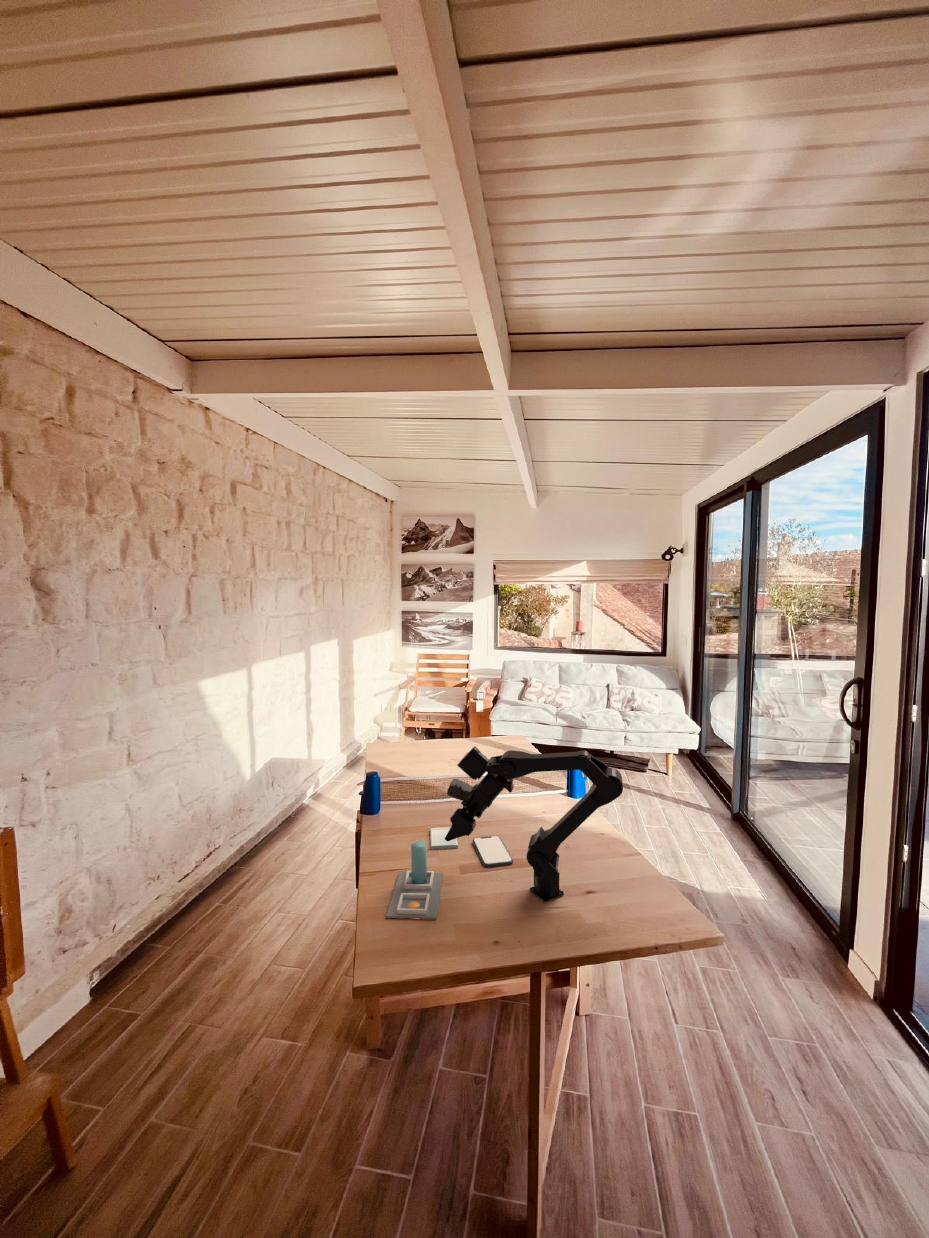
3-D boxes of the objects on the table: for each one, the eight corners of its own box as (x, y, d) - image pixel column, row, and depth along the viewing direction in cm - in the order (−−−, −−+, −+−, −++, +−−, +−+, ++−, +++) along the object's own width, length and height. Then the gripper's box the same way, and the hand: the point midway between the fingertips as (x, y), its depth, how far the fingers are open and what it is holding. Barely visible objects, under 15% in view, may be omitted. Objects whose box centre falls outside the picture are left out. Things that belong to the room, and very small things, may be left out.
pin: (429, 882, 147) (429, 846, 147) (415, 887, 145) (415, 850, 145) (422, 876, 151) (422, 840, 150) (409, 880, 149) (408, 843, 148)
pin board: (399, 874, 153) (399, 868, 153) (443, 875, 152) (443, 869, 152) (386, 918, 133) (386, 911, 133) (436, 919, 132) (436, 913, 132)
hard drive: (458, 844, 168) (455, 826, 180) (430, 845, 167) (430, 827, 179) (458, 850, 168) (455, 831, 180) (430, 851, 167) (430, 832, 179)
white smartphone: (514, 866, 158) (499, 839, 174) (514, 861, 158) (499, 834, 173) (484, 870, 156) (471, 842, 172) (484, 864, 156) (471, 837, 172)
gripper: (471, 759, 156) (438, 798, 159) (454, 782, 138) (416, 826, 141) (502, 786, 154) (467, 825, 157) (488, 813, 136) (450, 857, 139)
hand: (450, 832), depth 149 cm, fingers open, 9 cm apart
